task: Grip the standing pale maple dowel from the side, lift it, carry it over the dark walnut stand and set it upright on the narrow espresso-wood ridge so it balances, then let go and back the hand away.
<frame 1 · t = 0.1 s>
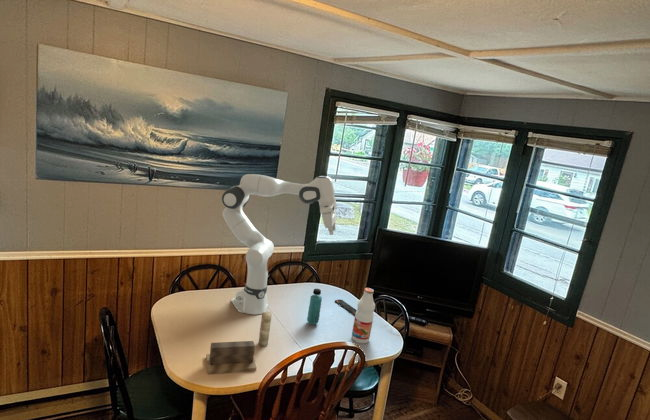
hand: (332, 232, 216), 52 cm above the table, tool tilted 20°, fingers open, 8 cm apart
fulcrum ridge: (230, 364, 178), on the table
maple dowel: (263, 344, 197), on the table
remote control: (349, 310, 249), on the table
fruit juice: (360, 339, 216), on the table
beverage bottle: (312, 324, 224), on the table
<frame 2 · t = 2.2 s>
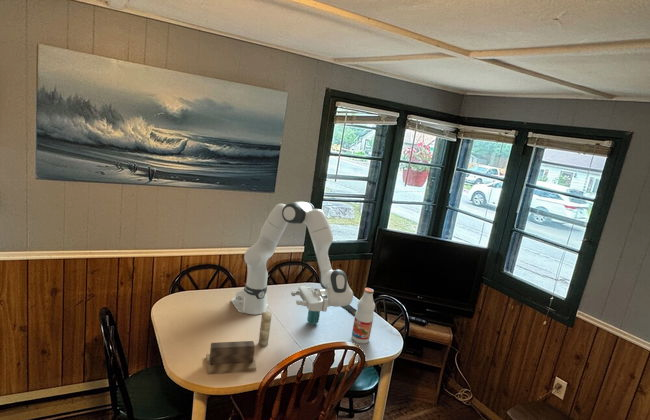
hand: (294, 298, 197), 24 cm above the table, tool horizontal, fingers open, 8 cm apart
nothing on the table moved.
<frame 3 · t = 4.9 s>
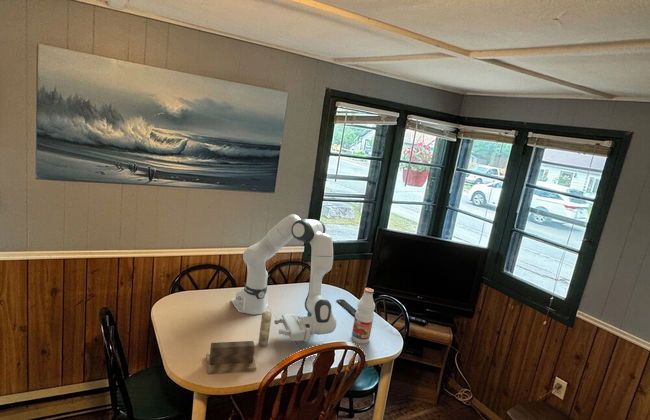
hand: (276, 326, 197), 9 cm above the table, tool horizontal, fingers open, 8 cm apart
beverage bottle: (312, 323, 224), on the table, touching arm
everything else where it was.
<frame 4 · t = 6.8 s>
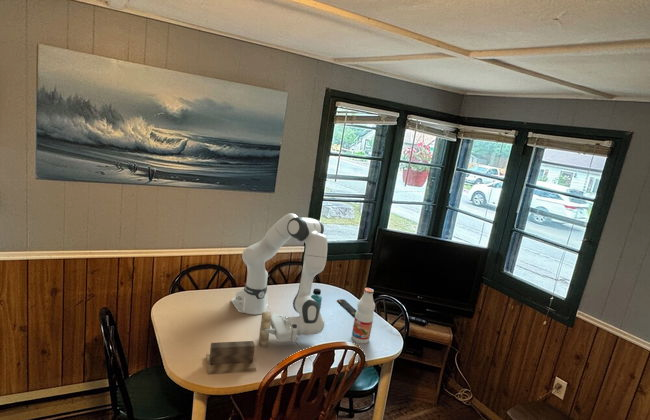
hand: (263, 327, 195), 9 cm above the table, tool horizontal, fingers closed on maple dowel, 4 cm apart
maple dowel: (263, 344, 197), on the table, touching gripper
beverage bottle: (312, 324, 224), on the table
everything else where it was.
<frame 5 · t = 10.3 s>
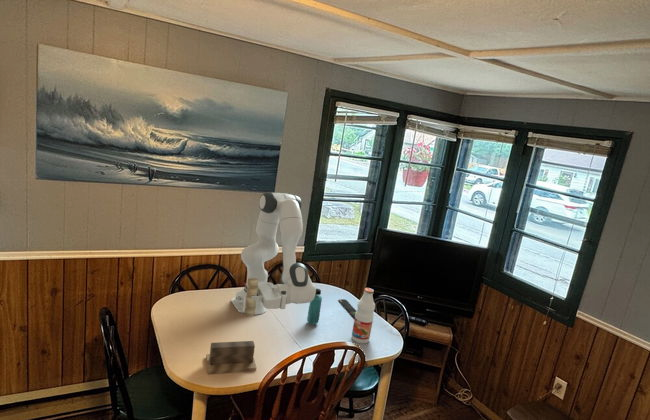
hand: (249, 294, 178), 30 cm above the table, tool horizontal, fingers closed on maple dowel, 4 cm apart
maple dowel: (249, 313, 180), point 21 cm above the table, touching gripper
when the fingers open (19 cm above the table, at t = 13.8 s): maple dowel stays where it is, resting on fulcrum ridge.
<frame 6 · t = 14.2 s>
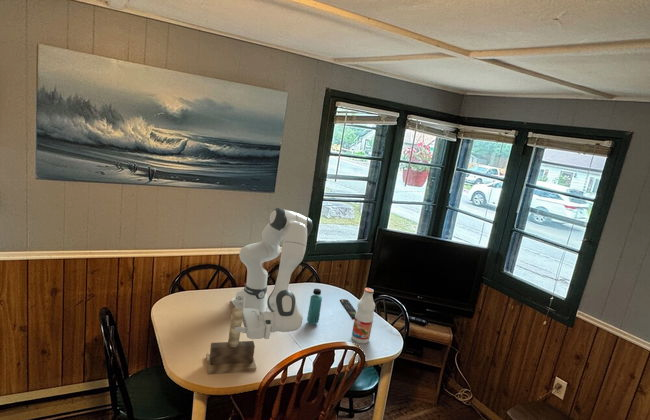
hand: (233, 323, 174), 19 cm above the table, tool horizontal, fingers open, 8 cm apart
maple dowel: (233, 344, 176), point 10 cm above the table, touching fulcrum ridge
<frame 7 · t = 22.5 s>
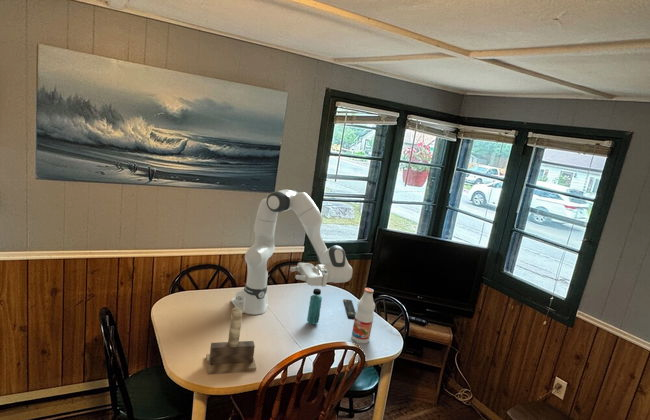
hand: (293, 273, 195), 36 cm above the table, tool horizontal, fingers open, 8 cm apart
at the end: maple dowel inside the target area on the fulcrum ridge (0.1 cm from its centre), point 9.5 cm above the fulcrum ridge's base; maple dowel tilted 0°; the gripper is holding nothing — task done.
